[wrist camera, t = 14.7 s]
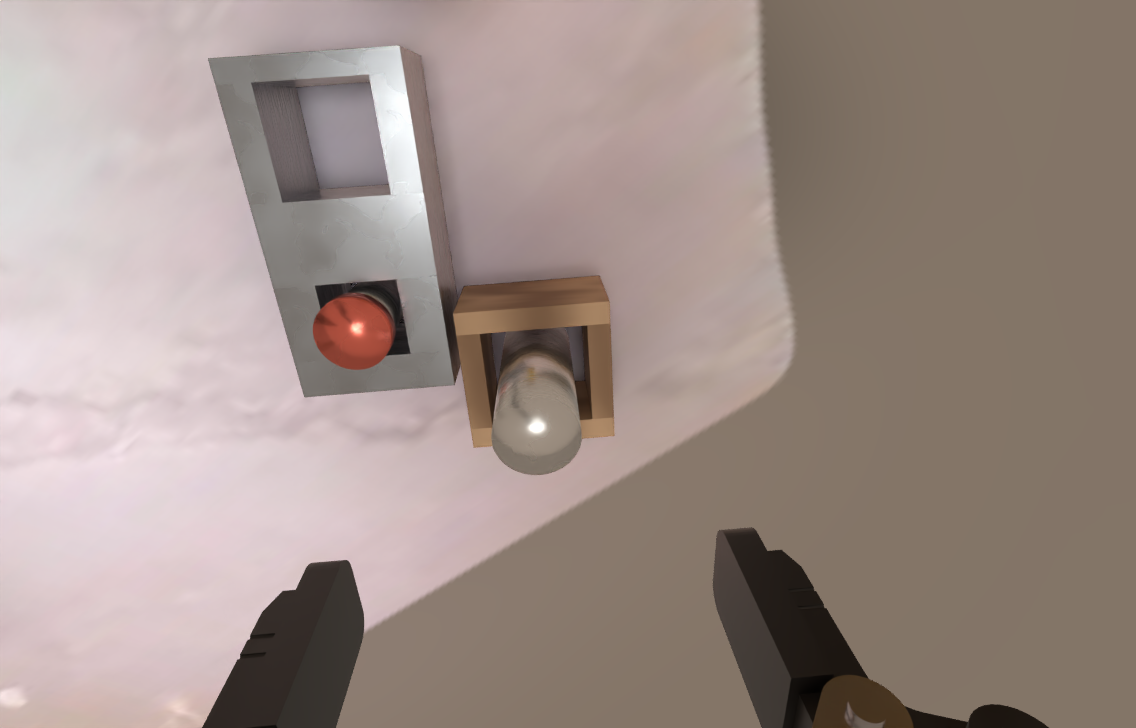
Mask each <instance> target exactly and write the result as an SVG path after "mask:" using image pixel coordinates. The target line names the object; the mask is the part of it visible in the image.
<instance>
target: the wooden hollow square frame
mask: <svg viewBox="0 0 1136 728" xmlns="http://www.w3.org/2000/svg"><path fill="white" fill-rule="evenodd" d="M453 317H454V324H455V330H456V337H457V343H458V349H459V356H460V362H461V369H462V375H463V382H464V388H465V395H466V401H467V408H468V414H469V420H470V427H471V433H472V440H473V446H474V448H476V447H488V446H493V445H492V440H491V433H492V425H493V418H494V411H495V404H496V396H497V389H498V386H497V378H496V371H495V363H494V355H493V347H492V339H491V333H497V332H509V331H522V330H534V329H547V328H559V327H572V326H582V335H583V352H584V369H585V381H575V388H576V396H577V403H578V410H579V418H580V425H581V432H582V439H583V438H595V437H607V436H614V410H613V383H612V355H611V328H610V301H609V299H608V296H607V294H606V291H605V289H604V286H603V284H602V281H601V279H600V276H589V277H576V278H563V279H550V280H538V281H525V282H512V283H499V284H486V285H473V286H464V288H463V290H462V293H461V295H460V298H459V300H458V302H457V305H456V307H455V310H454V312H453Z"/></svg>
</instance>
